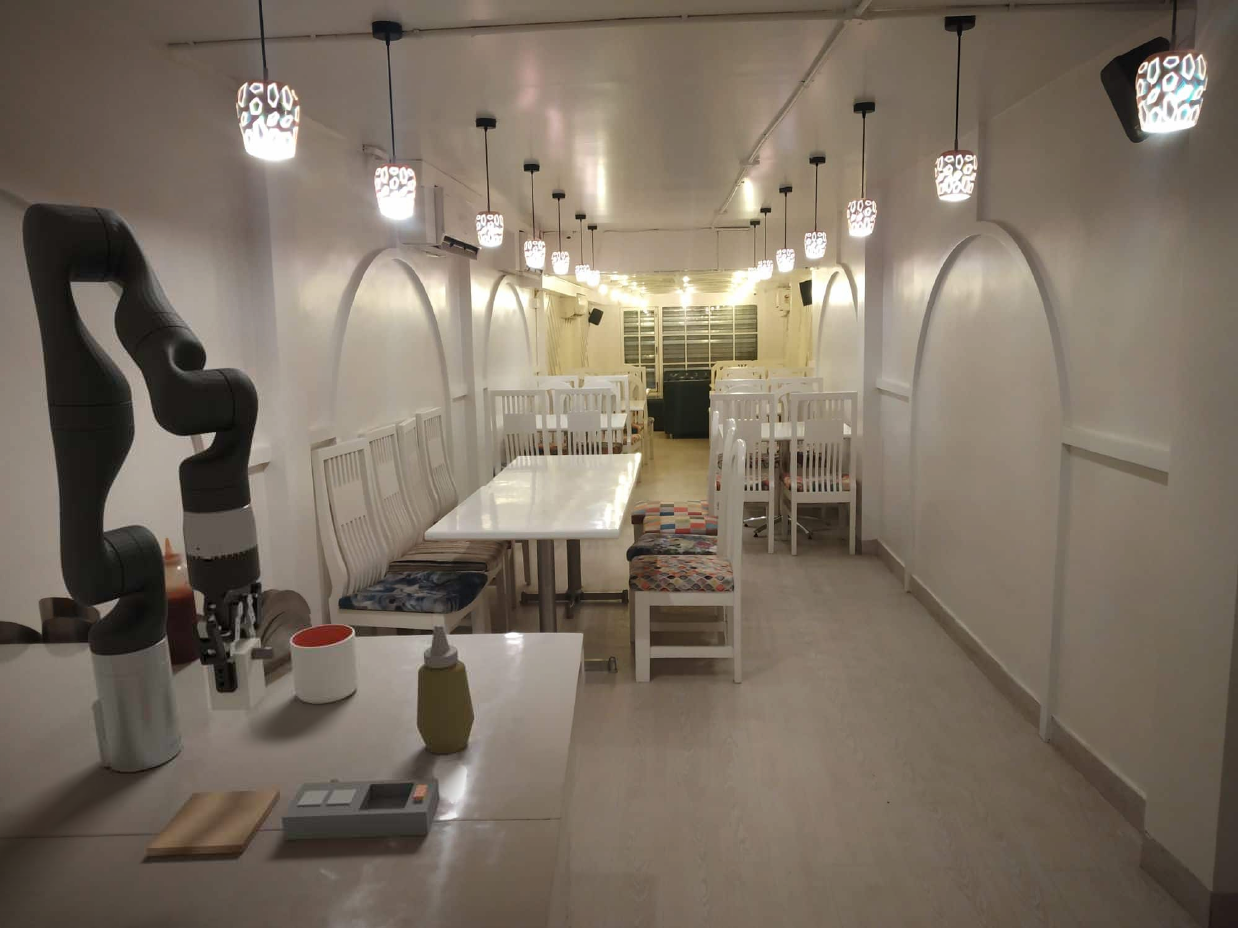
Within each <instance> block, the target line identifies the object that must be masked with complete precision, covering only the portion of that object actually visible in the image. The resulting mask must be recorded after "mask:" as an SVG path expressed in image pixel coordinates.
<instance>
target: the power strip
mask: <svg viewBox="0 0 1238 928" xmlns="http://www.w3.org/2000/svg"><path fill="white" fill-rule="evenodd" d="M439 802H440V790H439V779H438V778H437V777H436V778H415V779H414V778H413V779H412V778H411V779H387V780H386V779H385V780H359V781H339V780H338V779H337V778H332V779H330V781H329V782H327V781H326V782H305V783H302V785H300V788H299V789H298V791H297V793H296V794H295V796H294V797H293V799H292V800H291V802H290V803H289V805H288V807H287V808H286V810H285V811H284V813H283V815H282V816H281V822H282V829H283V831H282V832H283V839H284V841H289V840H290V841H291V840H293V841H294V840H296V841H297V840H321V839H348V838H372V837H374V838H375V837H397V836H399V837H401V836H423V835H424V836H425V835H426V836H427V835H428V836H429V832H430V829H431V826H432V823H433V821H434V818H435V814H436V811H437V808H438V806H439Z"/></svg>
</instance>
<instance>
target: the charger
mask: <svg viewBox="0 0 1238 928" xmlns="http://www.w3.org/2000/svg"><path fill="white" fill-rule="evenodd" d="M261 641H262V640H261V637H255V638H239V640H238V641H236V642H235V659H234V661H235V665H236V675H237V684H238V688H237V689H236V690H235V691H234V692H233V693H219V692H217V690H216V683H215V674H214V665H206V673H207V682H208V689H209V690H208V691H209V698H210V706H211V708H210V709H211V711H249V710H252V709H253V707H254V706H255V705H256V704H257V703H258V701H260V699H261V698H262V697H263V695H264V694H265V693H266V692H267V690H266V680H265V672H264V671H265V670H264V662H263V661H264V660H275V658H276V655H277V649H276V647H274V646H271V647H270V646H269V647H267V646H265V647H263V646H262V643H261ZM223 643H224V642H223ZM224 647H225V650H226V643H224ZM208 653H209V651H208Z"/></svg>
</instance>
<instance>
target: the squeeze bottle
mask: <svg viewBox="0 0 1238 928" xmlns="http://www.w3.org/2000/svg"><path fill="white" fill-rule="evenodd" d="M458 652H459V651H458V648H457V647H456V646H454V645H451V644H449V641H448V638H447V635H446V631H445V627H444V625H442V624H436V625H435V626H433V634H432V641H431V646H430V647H428V648H427V649H425V650H424V651H423V663H424V664H422V665H421V666H420V667H419V669H418V671H417V700H416V701H417V703H416V704H417V705H416V707H417V709H416V726H417V730H418V732H419V733H420V736H421V738H422V740H423V743H424V744H425V747H426V748H427V750H428V751H429V752H430V753H432V754H437V755H449V754H452V753H456V752H458V751H460V750H463V749H464V748H465V747H466V746H467V745H468V742H469V739H470V736H471V732H472V727H473V724H474V722H475V713H474V707H473V702H472V697H471V691H470V690H471V689H470V684H469V680H468V675H467V670H466V665H465V663H464V662H463V661H461V660H460V659H459V653H458Z"/></svg>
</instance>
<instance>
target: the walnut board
mask: <svg viewBox="0 0 1238 928" xmlns="http://www.w3.org/2000/svg"><path fill="white" fill-rule="evenodd" d="M280 798H281V792H280V789H262V790H259V789H258V790H236V791H235V790H234V791H208V792H207V791H205V792H192V794H191V795H190V797H189V798H188V799H187V801H186V802H184V804H183V805H182V806H181V808H179V810H178V811H177V812H176V813H175V815H174V816H173V817H172V818H171V819H170V821H168V822H167V824H166V825H165V826H164V828H163V829H162V830H161V831H160V832H159V834H158V835H157V836H156V837H155V838H154V839H153V840H152V842H151V843H150V844H149V845H148V847H146V849H147V856H148V857H152V856H153V857H154V856H158V857H159V856H179V855H180V856H182V855H184V856H185V855H205V854H206V855H208V854H209V855H210V854H212V855H213V854H233V853H236V854H237V853H244V852H245V851H246V849H247V847H248V846H249V844H250V843H251V842H252V840H253V839H254V837H255V836H256V834H257V833H258V831H259V829H260V828H261V826H262V825H263V824H264V822H265V821H266V819H267V818H268V815H269V814H271V811H272V810H273V808H274V807H275V805H276V804H277V802H278V800H279V799H280ZM275 803H276V804H275Z"/></svg>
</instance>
